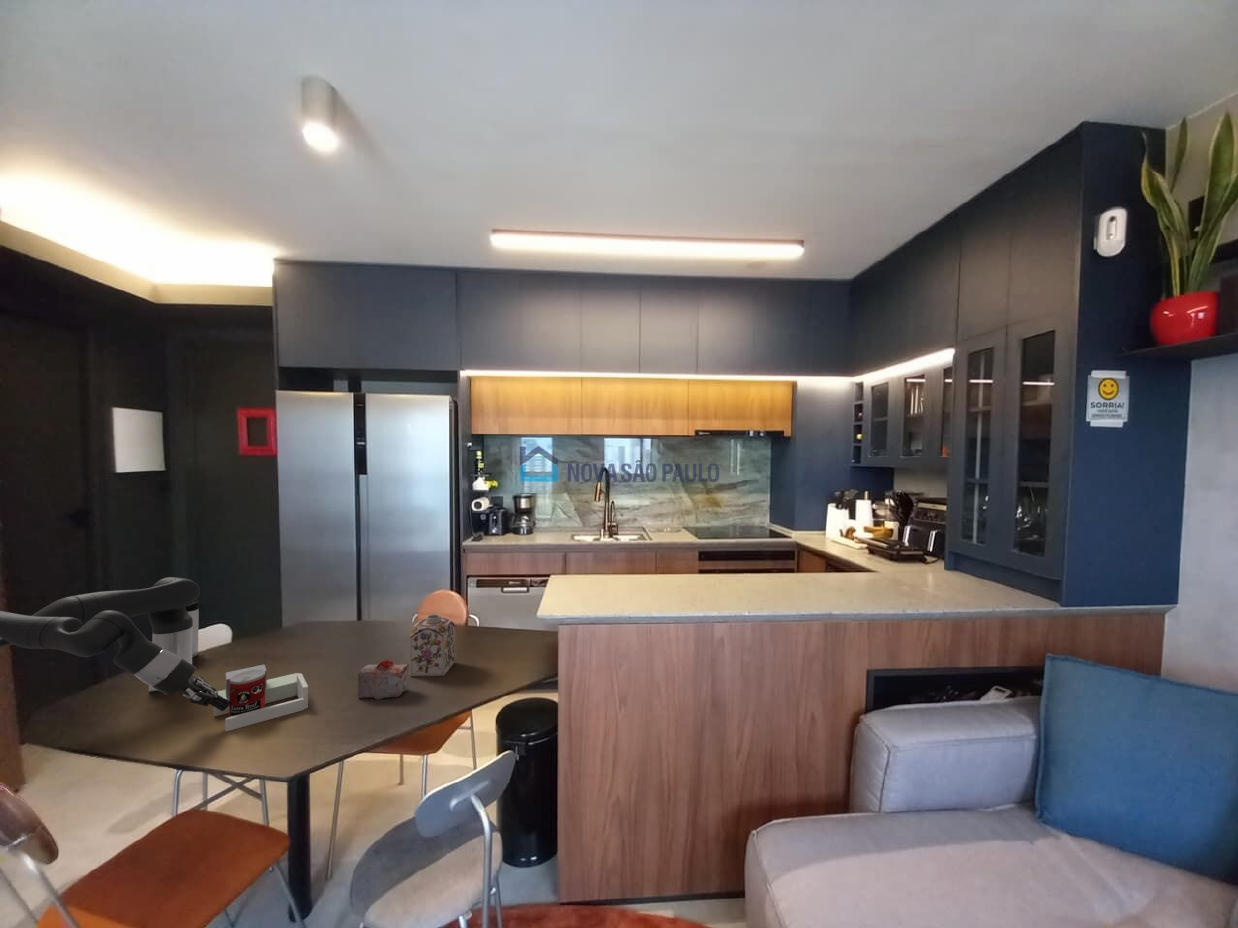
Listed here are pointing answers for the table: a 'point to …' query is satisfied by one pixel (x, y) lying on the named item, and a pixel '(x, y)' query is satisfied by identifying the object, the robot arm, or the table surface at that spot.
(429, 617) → the decorative jar
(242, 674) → the canned food
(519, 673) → the table surface
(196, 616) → the travel mug
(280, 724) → the table surface
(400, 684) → the food item
